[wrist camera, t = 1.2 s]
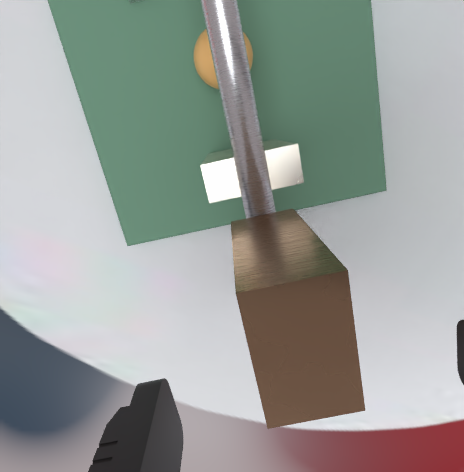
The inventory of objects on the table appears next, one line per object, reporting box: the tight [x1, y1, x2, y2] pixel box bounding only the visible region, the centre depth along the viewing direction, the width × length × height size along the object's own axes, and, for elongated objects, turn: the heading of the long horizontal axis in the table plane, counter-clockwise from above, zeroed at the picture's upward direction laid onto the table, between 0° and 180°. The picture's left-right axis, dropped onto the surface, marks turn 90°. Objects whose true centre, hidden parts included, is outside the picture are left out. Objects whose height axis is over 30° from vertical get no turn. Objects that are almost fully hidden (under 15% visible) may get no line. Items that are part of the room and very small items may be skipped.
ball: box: [194, 29, 253, 89], centre depth 23 cm, size 4×4×4 cm
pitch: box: [48, 0, 386, 246], centre depth 25 cm, size 22×24×1 cm
